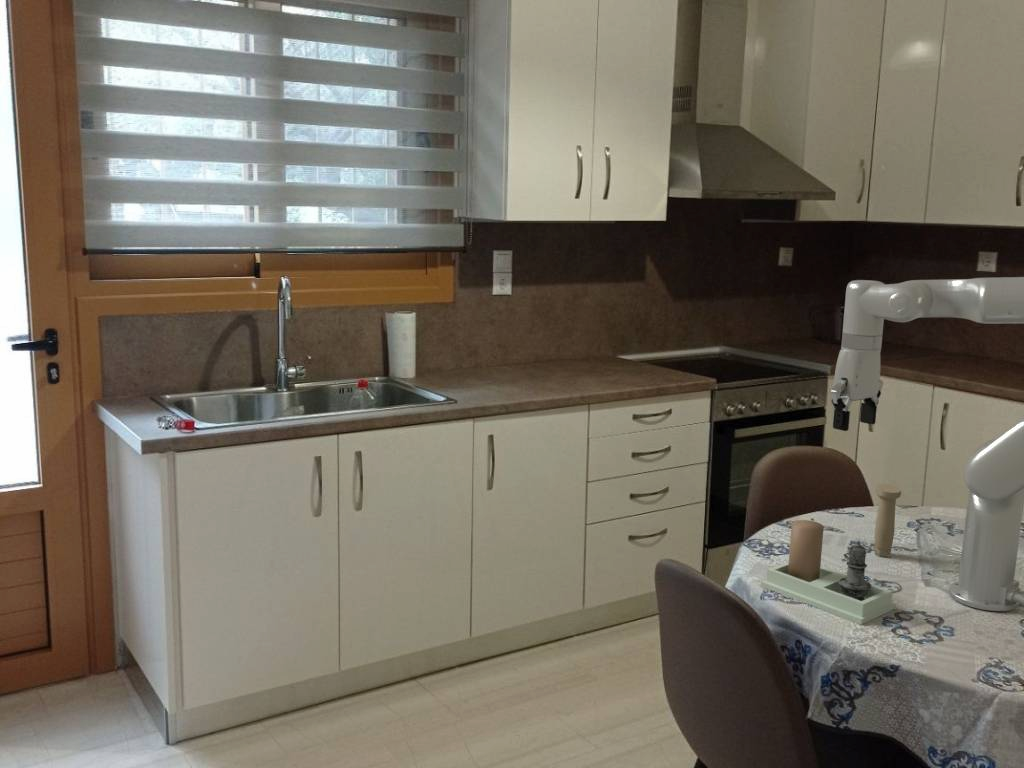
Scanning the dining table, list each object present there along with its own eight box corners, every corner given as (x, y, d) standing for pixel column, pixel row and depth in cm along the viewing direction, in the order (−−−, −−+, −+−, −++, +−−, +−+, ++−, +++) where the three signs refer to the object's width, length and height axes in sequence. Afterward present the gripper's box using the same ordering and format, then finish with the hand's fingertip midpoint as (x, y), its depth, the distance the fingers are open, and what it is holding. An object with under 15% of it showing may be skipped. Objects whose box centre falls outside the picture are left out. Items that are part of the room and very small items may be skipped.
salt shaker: (871, 609, 184) (877, 547, 182) (838, 605, 185) (844, 544, 183) (867, 596, 190) (873, 537, 188) (835, 593, 191) (840, 534, 189)
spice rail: (896, 608, 187) (902, 542, 185) (861, 624, 180) (867, 556, 177) (796, 572, 204) (801, 512, 202) (760, 586, 197) (765, 523, 194)
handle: (872, 558, 213) (878, 491, 210) (868, 548, 219) (875, 483, 216) (895, 561, 212) (902, 493, 209) (892, 550, 218) (898, 485, 215)
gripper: (868, 337, 206) (861, 417, 210) (820, 343, 196) (813, 428, 199) (901, 341, 201) (893, 424, 204) (854, 348, 190) (846, 436, 193)
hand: (854, 426), depth 201 cm, fingers open, 9 cm apart
